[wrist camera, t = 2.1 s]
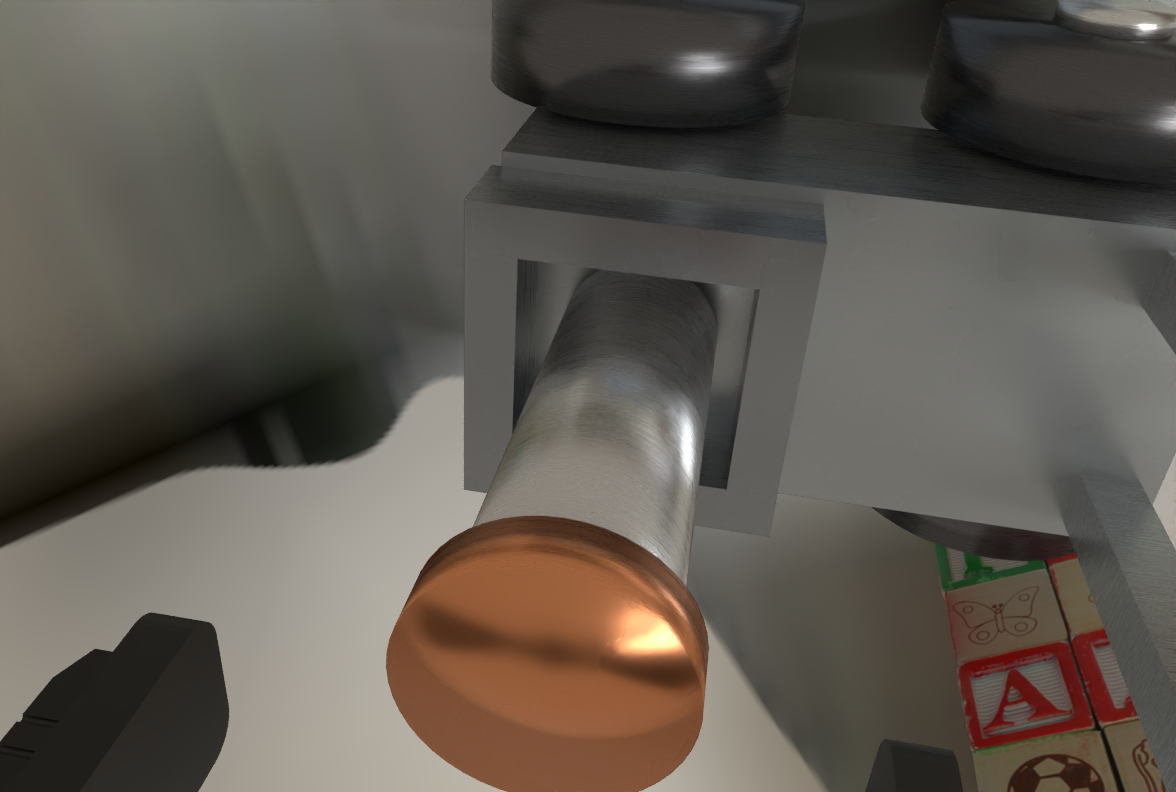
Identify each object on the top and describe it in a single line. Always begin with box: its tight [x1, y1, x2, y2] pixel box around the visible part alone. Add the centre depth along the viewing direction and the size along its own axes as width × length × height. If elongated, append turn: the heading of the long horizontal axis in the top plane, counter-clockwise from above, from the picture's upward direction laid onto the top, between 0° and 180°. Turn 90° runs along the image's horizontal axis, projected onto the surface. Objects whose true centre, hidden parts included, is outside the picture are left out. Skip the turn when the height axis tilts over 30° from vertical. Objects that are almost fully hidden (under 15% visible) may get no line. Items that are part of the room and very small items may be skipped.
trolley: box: [464, 0, 1176, 792], centre depth 19 cm, size 17×12×22 cm
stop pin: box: [386, 269, 717, 792], centre depth 17 cm, size 4×4×10 cm
